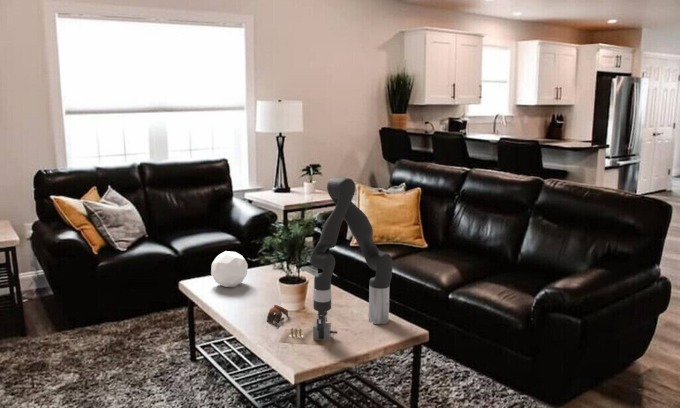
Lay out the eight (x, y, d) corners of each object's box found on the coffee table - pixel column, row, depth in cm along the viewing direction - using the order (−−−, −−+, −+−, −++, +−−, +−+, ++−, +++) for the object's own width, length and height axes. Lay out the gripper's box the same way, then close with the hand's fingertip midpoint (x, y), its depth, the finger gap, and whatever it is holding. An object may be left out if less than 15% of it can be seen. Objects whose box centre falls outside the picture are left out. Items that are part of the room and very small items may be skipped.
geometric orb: (239, 298, 313) (252, 276, 301) (203, 288, 307) (215, 265, 295) (242, 272, 327) (254, 249, 316) (208, 262, 321) (219, 239, 309)
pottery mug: (264, 318, 270) (271, 302, 272) (282, 326, 272) (289, 310, 273) (266, 322, 259) (274, 305, 260) (285, 330, 260) (293, 313, 262)
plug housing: (337, 336, 247) (338, 323, 246) (336, 341, 243) (336, 328, 242) (314, 335, 249) (315, 322, 247) (313, 339, 244) (313, 326, 243)
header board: (334, 335, 253) (334, 324, 252) (330, 349, 239) (330, 338, 238) (285, 331, 255) (285, 321, 254) (278, 345, 242) (278, 334, 241)
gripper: (328, 304, 235) (328, 343, 238) (333, 292, 249) (333, 329, 252) (310, 303, 236) (310, 342, 239) (316, 291, 250) (316, 328, 253)
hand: (322, 335), depth 246 cm, fingers closed on plug housing, 4 cm apart
